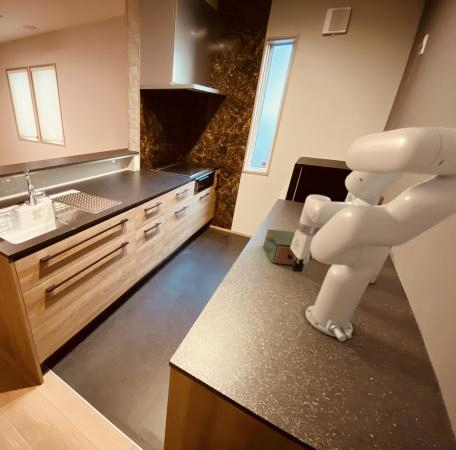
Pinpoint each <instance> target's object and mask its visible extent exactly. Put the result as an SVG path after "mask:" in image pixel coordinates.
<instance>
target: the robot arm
mask: <svg viewBox="0 0 456 450" xmlns="http://www.w3.org/2000/svg"><path fill="white" fill-rule="evenodd" d="M344 160H345V165H346V166H347V167H348V169H350V170H351V172H350V173H349V174H348V175H347V176H346V178H345V180H344V185H345V188H346V190H347V191H348V192H350V193H351V194H352V195H354V196H355V197H357V198H356V199H355V200H353V201H352V202H350V203H347V202H345V201H332V200H331V198H330V197H328V196H325V195H322V194H309V195H308V196H307V197H305V202H304V205H303V208H302V212H301V215H300V219H299V222H298V226H297V229H296V231H295V232H294V233H295V235H294V238H293V240H292V243H291V247H290V248H291V250H292V252H293V253H294V254H295V257H294V260H295V261H294V263H293V265H291V270H292V271H293V272H296V273H302V272H303V269H304V266H305V265H309V264H310V261H313V260H314V259H315V260H314V261H316V262H318V263H320V264H323V265H331V266H330V267H329V268H328V270H327V272H326V275H325V277H324V279H323V282H322V284H321V287H320V289H319V292H318V295H317V298H316V300H315V302H314V304H313V305H309V306H308V307H306V310H305V311H304V312H305V313H304V314H305V318H306V320H307V321H308V322H309V324H310V325H312V326H313V327H314V328H315V329H317V330H318V331H320V332H321V333H323V334H326V335H328V336H331V337H335V338H337V339H338V341H340V342H344V341H346V340H347V339H351V338H352V337H353V335H352V334H353V330H354V328H353V325H352V323H351V320H352V318H353V316H354V314H355V311H356V309H357V307H358V305H359V304H360V301H361V300H362V298H363V295H364V293H365V291H366V289H367V287H368V286H369V284H370V283H369V282H370V280H371V278H372V277H373V275H374V274H375V273H376V271H377V270H378V269H379V268H380V267H381V266H382V264H383V263H384V264H385V262H386V260H387V259H388V256H389V254H390V252H389V247H391V246H392V247H399V246H402V245H404V244H406V243H408V242H410V241H412V240H413V239H415V238H416V237H419V236H420V235H422V234H423V233H425V232H426V231H428V230H430V229H431V228H433V227H435V226H437V225H438V224H440V223H441V222H443V221H444V220H446V219H448V218H449V217H451V216H453V215H455V214H456V127H436V126H435V127H434V126H411V127H403V128H397V129H390V130H385V131H380V132H373V133H367V134H365V135H362V136H360V137H358V138H357V139H355V140H354V141H353V142H352V143H351V145H350V146H349V147H348V149H347V151H346V153H345V157H344ZM406 174H407V175H408V174H409V175H410V174H413V175H431V176H432V177H430V178H428V179H426V180H423V181H421V182H418V183H416V184H414V185H412V186H410V187H409V188H407V189H405V190H403V191H402V192H401V193H400V194H399V195H398V196H396V197H395V198H394V199H392V200H391V201H389V202H387V203H385V204H382V205H378V203H379V194H380V193H382V192H383V191H385V190H387V188H388V187H390V186H391V185H392V184H394V183H396V181H398V180H399V179H400V178H402V177H403V176H405V175H406ZM313 258H314V259H313ZM384 264H383V265H384ZM382 267H383V266H382Z"/></svg>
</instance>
